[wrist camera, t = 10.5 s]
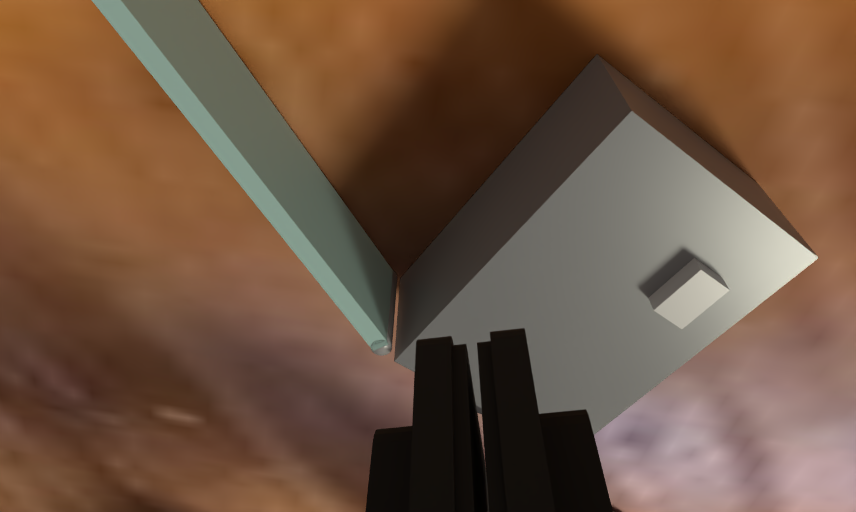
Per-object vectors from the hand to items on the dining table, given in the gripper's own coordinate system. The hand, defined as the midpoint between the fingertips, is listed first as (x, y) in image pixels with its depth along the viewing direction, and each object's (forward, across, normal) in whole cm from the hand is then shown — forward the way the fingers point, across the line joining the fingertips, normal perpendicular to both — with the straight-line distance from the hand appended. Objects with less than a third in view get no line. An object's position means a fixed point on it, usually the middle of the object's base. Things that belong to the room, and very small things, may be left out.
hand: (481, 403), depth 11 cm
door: (+20, +8, +2) cm, 21 cm away
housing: (+20, -4, +10) cm, 23 cm away
